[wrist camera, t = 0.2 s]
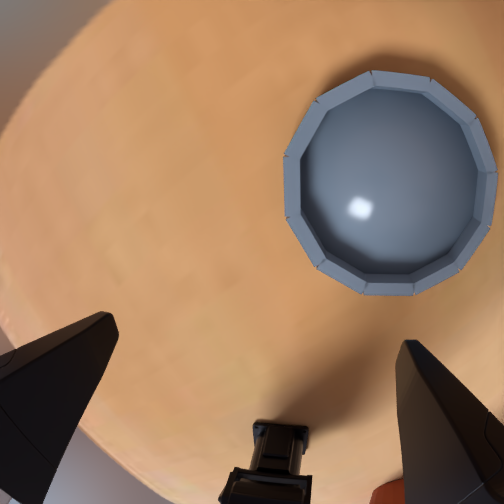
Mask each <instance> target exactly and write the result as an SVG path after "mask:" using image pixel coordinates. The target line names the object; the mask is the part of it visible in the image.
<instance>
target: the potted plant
mask: <svg viewBox="0 0 504 504" xmlns="http://www.w3.org/2000/svg"><path fill="white" fill-rule="evenodd" d="M369 504H405V493H404V479H400V480H396V481H392V482H389V483H387V484H384V485H382V486H380V487H378V488H377V489H375V490H374V491H373V493H372V497H371V500H370V503H369Z"/></svg>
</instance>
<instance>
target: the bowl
mask: <svg viewBox="0 0 504 504" xmlns="http://www.w3.org/2000/svg"><path fill="white" fill-rule="evenodd" d="M475 117H476V114H475V113H473V112H472V111H471V110H470V109H469V108H468V107H467V106H466V105H464V104H463V103H462V102H461V101H460V100H459V99H457V98H456V97H455V96H454V95H453V94H451V93H450V92H449V91H448V90H447V89H445V88H444V87H443V86H441V85H440V84H439V83H438V82H436V81H435V80H434V79H430V77H425V76H418V75H412V74H404V73H396V72H387V71H377V70H371V71H370V72H369V71H367V72H365V73H363V74H361V75H359V76H357V77H355V78H353V79H351V80H349V81H347V82H345V83H343V84H341V85H340V86H338V87H336V88H334V89H332V90H330V91H328V92H326V93H325V94H323V95H321V96H319V97H317V98H316V102H315V101H313V102H312V104H311V106H310V108H309V110H308V111H307V113H306V115H305V117H304V118H303V120H302V122H301V124H300V126H299V127H298V129H297V131H296V133H295V135H294V136H293V138H292V140H291V142H290V144H289V146H288V147H287V149H286V151H285V153H284V154H285V156H284V157H283V167H284V201H285V216H286V221H287V222H288V224H289V226H290V227H291V229H292V231H293V232H294V234H295V235H296V237H297V239H298V240H299V242H300V244H301V245H302V247H303V249H304V250H305V252H306V254H307V255H308V257H309V259H310V260H311V262H312V264H313V266H314V267H315V266H316V269H317V270H319V271H321V272H323V273H324V274H326V275H328V276H330V277H331V278H333V279H335V280H337V281H338V282H340V283H342V284H344V285H345V286H347V287H349V288H351V289H352V290H354V291H356V292H358V293H359V294H362V293H363V294H364V295H385V296H413V293H415V295H417V294H419V293H421V292H423V291H425V290H427V289H429V288H431V287H432V286H434V285H436V284H438V283H440V282H442V281H444V280H446V279H448V278H449V277H451V276H453V275H455V274H457V273H459V270H458V268H459V269H460V270H462V269H463V267H464V266H465V265H466V263H467V262H468V260H469V259H470V258H471V256H472V255H473V253H474V252H475V250H476V249H477V248H478V246H479V245H480V243H481V242H482V240H483V239H484V237H485V236H486V234H487V233H488V231H489V229H490V228H489V227H488V226H491V224H492V218H493V211H494V205H495V197H496V188H497V179H498V173H497V172H495V171H497V170H498V169H497V166H496V163H495V160H494V157H493V154H492V152H491V149H490V146H489V143H488V141H487V138H486V136H485V133H484V131H483V128H482V126H481V123H480V121H479V118H475ZM487 225H488V226H487Z"/></svg>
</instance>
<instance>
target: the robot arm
mask: <svg viewBox="0 0 504 504" xmlns="http://www.w3.org/2000/svg"><path fill="white" fill-rule="evenodd" d="M118 338H119V332H118V329H117V326H116V323H115V319H114V317H113V315H112V314H111V313H109V312H104V311H100V312H98V313H95V314H93V315H91V316H89V317H86V318H84V319H82V320H80V321H77V322H75V323H73V324H71V325H68V326H66V327H64V328H61V329H59V330H57V331H55V332H52V333H50V334H48V335H46V336H43V337H41V338H39V339H37V340H35V341H32V342H30V343H28V344H26V345H23V346H21V347H19V348H17V349H14V350H12V351H10V352H8V353H5V354H3V355H1V356H0V504H9V502H10V500H11V499H12V498H13V499H15V500H16V501H17V502H19V503H20V504H43V501H44V499H45V497H46V494H47V492H48V489H49V487H50V485H51V482H52V480H53V478H54V475H55V473H56V471H57V468H58V466H59V464H60V461H61V459H62V457H63V455H64V453H65V450H66V448H67V446H68V444H69V442H70V440H71V438H72V435H73V433H74V431H75V429H76V427H77V425H78V423H79V421H80V419H81V417H82V415H83V413H84V411H85V409H86V407H87V405H88V403H89V401H90V399H91V397H92V395H93V394H94V392H95V390H96V388H97V386H98V384H99V382H100V380H101V378H102V376H103V374H104V372H105V370H106V367H107V365H108V362H109V360H110V357H111V355H112V353H113V350H114V348H115V346H116V343H117V341H118ZM395 372H396V395H397V417H398V425H399V434H400V443H401V452H402V463H403V476H404V493H405V504H504V425H503V424H502V423H501V422H500V421H499V420H498V419H497V418H496V417H495V416H494V415H493V414H492V413H491V412H488V411H489V410H488V409H487V408H486V407H485V406H484V405H483V404H482V403H481V402H480V401H479V400H478V399H477V398H476V397H475V396H474V395H473V394H472V393H471V392H470V391H469V390H468V389H467V388H466V387H465V386H464V385H463V384H462V383H461V382H460V381H459V380H458V379H457V378H456V377H455V376H454V375H453V374H452V373H451V372H450V371H449V370H448V369H447V368H446V367H445V366H444V365H443V364H442V363H441V362H440V361H439V360H438V359H437V358H436V357H435V356H434V355H433V354H432V353H431V352H429V351H428V350H427V349H426V348H425V347H424V346H423V345H422V344H421V343H420V342H419V341H418V340H404V341H403V342H402V345H401V348H400V351H399V354H398V357H397V360H396V365H395ZM308 432H309V428H308V427H302V426H287V425H275V424H265V423H254V424H253V436H254V446H255V448H254V452H253V456H252V460H251V464H250V468H249V470H247V469H241V468H239V467H235V468H234V470H233V472H230V475H229V478H228V481H227V484H226V486H225V487H224V489H223V491H222V492H221V494H220V496H219V498H218V501H219V502H220V504H310V500H311V487H312V475H307V476H304V475H299V474H300V467H301V459H302V455H304V454H305V451H306V445H307V439H308Z"/></svg>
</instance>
